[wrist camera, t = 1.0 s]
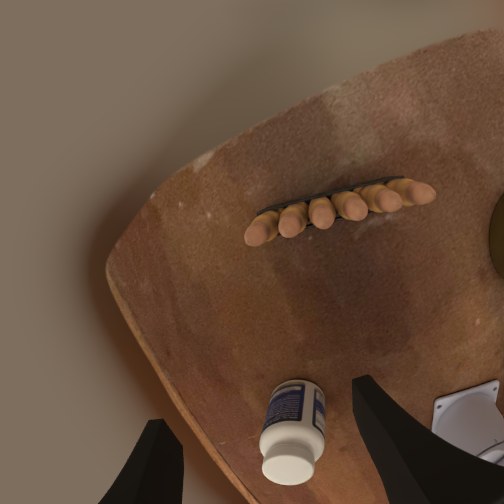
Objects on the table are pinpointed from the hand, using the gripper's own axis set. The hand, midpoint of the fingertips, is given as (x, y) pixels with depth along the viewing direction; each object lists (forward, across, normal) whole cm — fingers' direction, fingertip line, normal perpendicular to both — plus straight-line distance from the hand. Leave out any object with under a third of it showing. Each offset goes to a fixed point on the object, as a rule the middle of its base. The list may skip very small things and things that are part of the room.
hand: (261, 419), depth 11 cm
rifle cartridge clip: (+17, -8, -2) cm, 19 cm away
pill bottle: (+14, -2, +16) cm, 21 cm away
